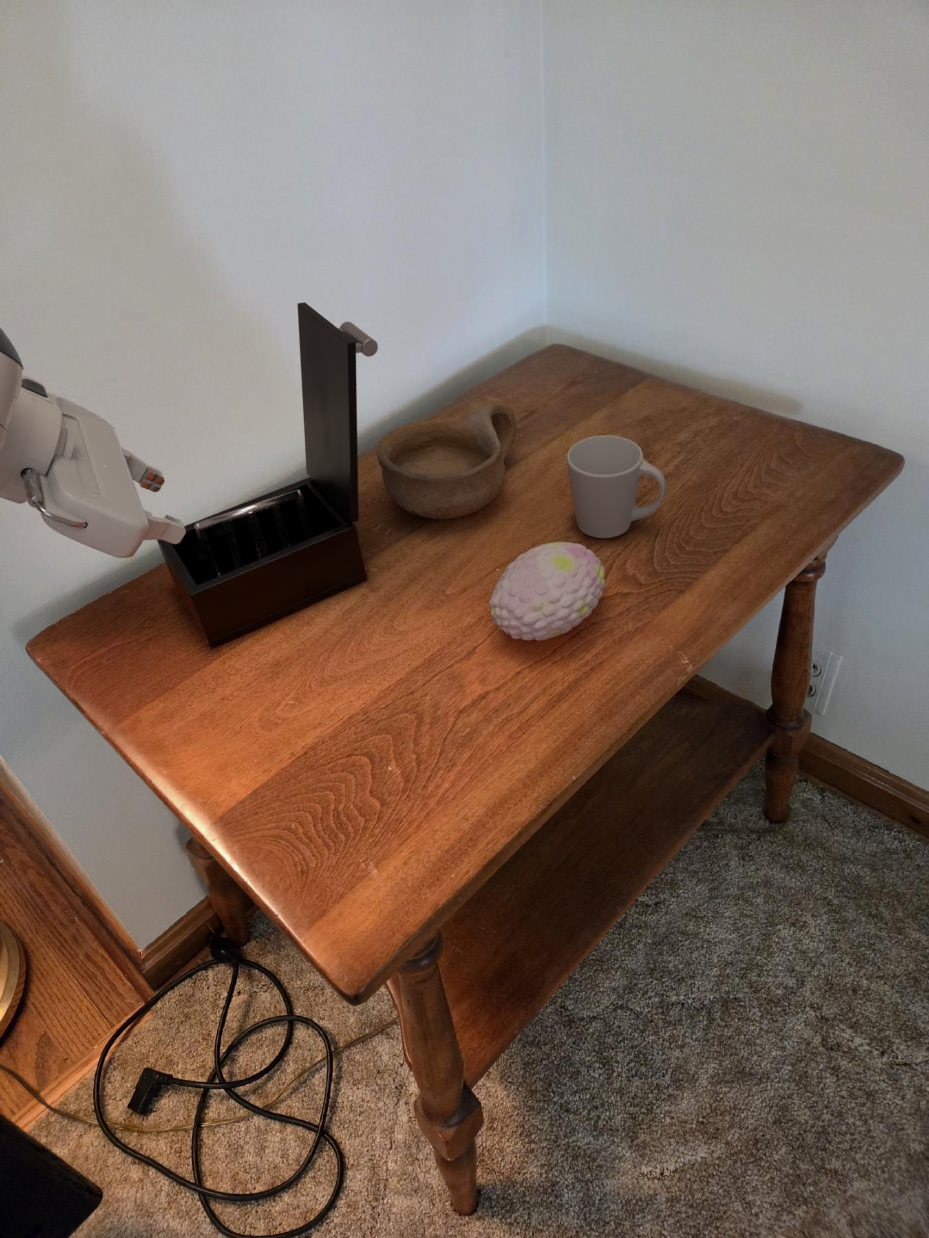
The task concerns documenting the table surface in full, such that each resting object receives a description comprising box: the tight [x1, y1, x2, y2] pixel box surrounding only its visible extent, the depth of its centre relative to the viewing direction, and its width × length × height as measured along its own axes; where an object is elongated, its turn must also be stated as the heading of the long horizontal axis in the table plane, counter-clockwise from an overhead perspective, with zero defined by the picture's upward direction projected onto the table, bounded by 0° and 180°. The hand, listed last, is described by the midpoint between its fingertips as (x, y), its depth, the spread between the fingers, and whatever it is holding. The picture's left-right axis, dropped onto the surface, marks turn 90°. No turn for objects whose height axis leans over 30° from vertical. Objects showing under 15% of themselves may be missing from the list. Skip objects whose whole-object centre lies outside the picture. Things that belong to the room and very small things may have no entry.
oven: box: [156, 476, 368, 650], centre depth 92 cm, size 17×11×7 cm, turn 121°
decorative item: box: [488, 541, 606, 642], centre depth 84 cm, size 9×11×10 cm
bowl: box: [376, 396, 517, 520], centre depth 101 cm, size 18×14×10 cm
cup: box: [566, 434, 667, 539], centre depth 93 cm, size 8×10×8 cm
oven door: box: [296, 302, 379, 523], centre depth 87 cm, size 18×11×4 cm
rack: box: [194, 490, 314, 579], centre depth 90 cm, size 11×4×9 cm, turn 115°
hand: (170, 507), depth 84 cm, fingers open, 8 cm apart
